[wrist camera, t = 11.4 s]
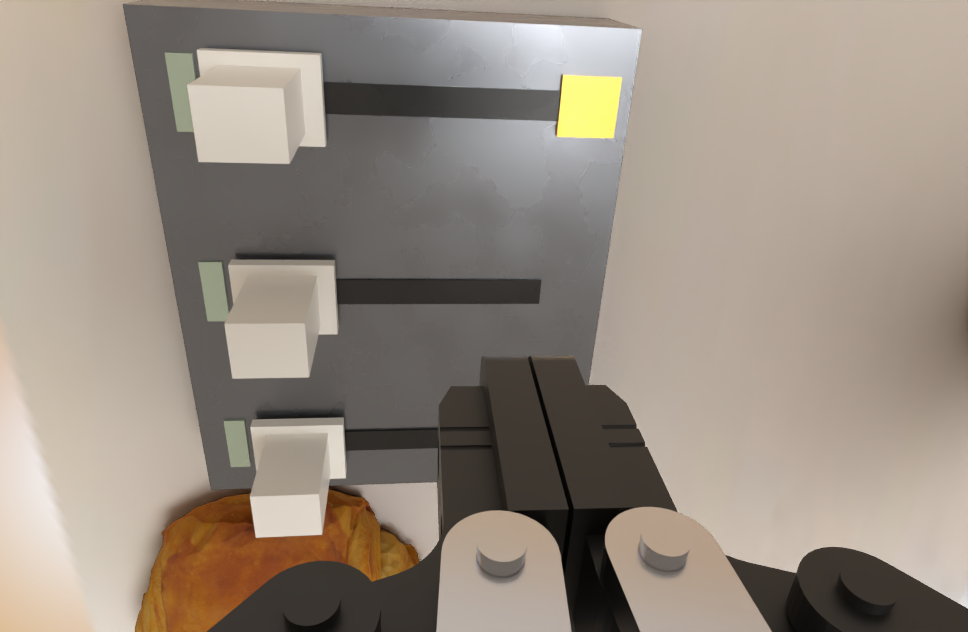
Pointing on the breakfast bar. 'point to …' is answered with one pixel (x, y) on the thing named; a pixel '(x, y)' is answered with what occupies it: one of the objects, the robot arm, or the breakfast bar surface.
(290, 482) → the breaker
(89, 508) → the breakfast bar surface
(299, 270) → the breaker middle
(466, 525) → the robot arm
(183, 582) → the croissant
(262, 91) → the block
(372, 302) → the breaker panel
